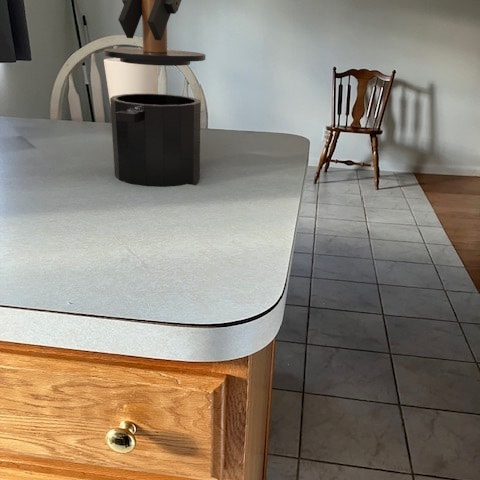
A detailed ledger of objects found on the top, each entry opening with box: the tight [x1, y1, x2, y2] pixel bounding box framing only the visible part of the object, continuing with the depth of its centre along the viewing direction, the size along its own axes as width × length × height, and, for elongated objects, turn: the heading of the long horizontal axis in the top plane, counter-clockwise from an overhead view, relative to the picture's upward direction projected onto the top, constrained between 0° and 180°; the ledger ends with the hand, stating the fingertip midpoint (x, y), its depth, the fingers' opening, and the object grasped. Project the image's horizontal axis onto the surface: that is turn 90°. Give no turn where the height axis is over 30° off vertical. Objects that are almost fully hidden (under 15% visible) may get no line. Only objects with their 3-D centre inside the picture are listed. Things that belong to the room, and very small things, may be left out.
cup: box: [103, 57, 160, 107], centre depth 101 cm, size 10×10×13 cm
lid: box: [103, 0, 207, 67], centre depth 66 cm, size 13×13×11 cm
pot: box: [109, 93, 202, 188], centre depth 73 cm, size 12×17×10 cm
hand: (139, 29), depth 63 cm, fingers closed on lid, 3 cm apart
